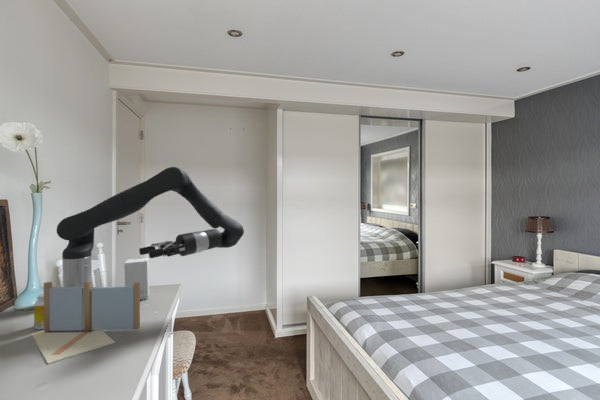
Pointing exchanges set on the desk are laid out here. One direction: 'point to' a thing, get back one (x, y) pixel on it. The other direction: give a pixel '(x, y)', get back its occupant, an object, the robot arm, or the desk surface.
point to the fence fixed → (67, 308)
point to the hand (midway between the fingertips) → (144, 253)
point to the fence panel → (116, 308)
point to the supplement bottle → (39, 312)
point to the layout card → (69, 343)
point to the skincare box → (138, 275)
